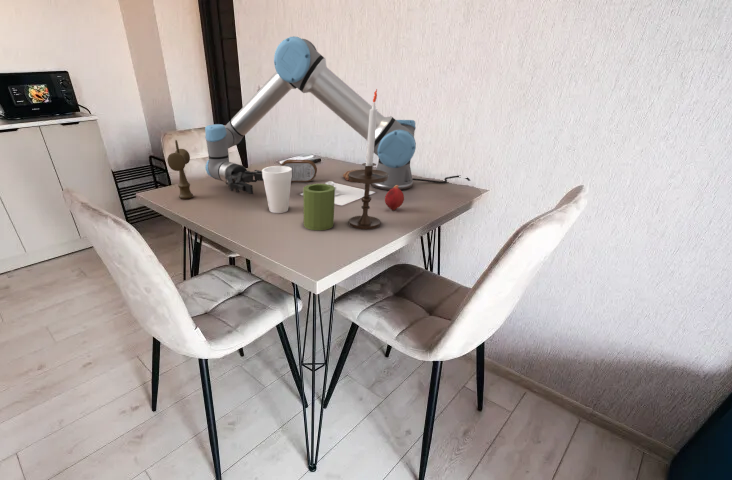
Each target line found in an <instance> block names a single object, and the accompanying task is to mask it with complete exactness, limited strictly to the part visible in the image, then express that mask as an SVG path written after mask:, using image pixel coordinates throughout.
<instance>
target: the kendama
mask: <svg viewBox="0 0 732 480" xmlns="http://www.w3.org/2000/svg"><path fill="white" fill-rule="evenodd" d="M174 144H175V151H174V152H172V153H170V154H168V156H167V160H166V161H167V165H168V167H169V168H170V169H171V170H173V171H174V172H175V171H176V172H178V175H179V180H178V184H177V187H178V188H179V195H178V198H179V199H182V200H187V199H191V198H194V194H193V192H192V191H191V188H190V186H191V183H190V182H189V181H188V178H187V175H186V173H185V170H184V169H185V167H186V165H187V164H189V163H190V160H191V155H190V152H189V151H188V150H187V149H184V148H180V147H179V143H178V140H177V139H175V143H174Z"/></svg>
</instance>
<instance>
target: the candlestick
mask: <svg viewBox="0 0 732 480" xmlns="http://www.w3.org/2000/svg"><path fill="white" fill-rule="evenodd" d="M377 92H378V89H377V88H375V91H374V96H373V99H372V105H371V106H372V109H370V114H369V127H368V140H366V156H365V162H363V163H361V166H364V168H363V169H354V170H355V171H352V172H350V173H349V177H348V178H349V180H351V181H350V182H355V183H358V184H359V183H360V184H364V190H365V192H364V196H363V197H362V198H360V200H361V202H362V205H361V207H360V208H361V209H362V215H356V216H352V217H350V218H349V219H348V225H349V226H350V227H351V228H354V229H357V230H366V231H367V230H374V229H377V228H379V227H380V225H381V220H380V219H379V218H378V217H375V216H370V215H369V214H368V211H369V210H370V209H371V206H370V205H369V204H370V202H371V201H372V197H371V196H370V195H369V191H370V190H371V189H370V188H371V185H372V183H380V182H384V181H386V180H388V173H386V172H384V171H380V170H376V169H373V168H374V167H375V166H378V163H374V154H375V153H374V142H375V131H376V119H377V111H378V109H377V107H376V101H377V99H378V93H377Z"/></svg>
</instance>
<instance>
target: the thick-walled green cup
mask: <svg viewBox="0 0 732 480" xmlns="http://www.w3.org/2000/svg"><path fill="white" fill-rule="evenodd" d="M302 189H303V190H302V193H303V195H302V197H303V200H302V201H303V202H302V203H303V207H302V208H303V226H304V228H306V229H308V230H309V231H310V230H311V231H326V230H330V229H332V228H333V227H334V222H335V204H334V199H335V187H334V186H332V185H329V184H326V183H310V184H307V185H305V186H304V187H303V188H302Z"/></svg>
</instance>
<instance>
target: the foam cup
mask: <svg viewBox="0 0 732 480" xmlns="http://www.w3.org/2000/svg"><path fill="white" fill-rule="evenodd" d="M261 171H262V178H263V180H264V181H263V184H264V190H265V195H266V200H267V205H268V206H267V207H268V210H269V212H270V213H272V214H283V213H287V212H288V211H289V207H290V205H289V204H290V196H291V185H292V182H291V178H292V168H290V167H287V166H281V165H271V166H266V167H263V168H262V170H261Z"/></svg>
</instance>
